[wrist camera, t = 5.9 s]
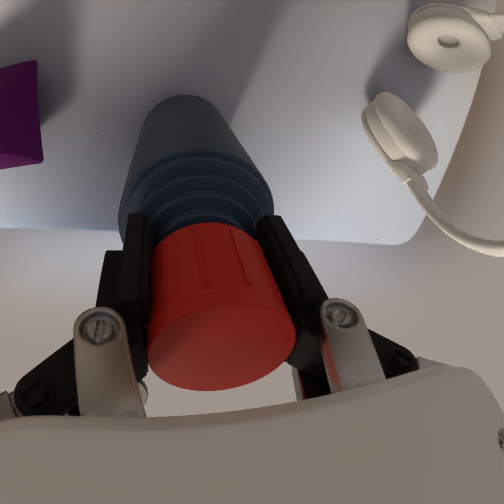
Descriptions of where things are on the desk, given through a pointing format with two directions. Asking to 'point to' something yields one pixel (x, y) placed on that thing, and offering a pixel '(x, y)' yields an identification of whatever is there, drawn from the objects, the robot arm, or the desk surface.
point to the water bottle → (192, 173)
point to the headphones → (407, 121)
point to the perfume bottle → (19, 116)
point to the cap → (214, 310)
